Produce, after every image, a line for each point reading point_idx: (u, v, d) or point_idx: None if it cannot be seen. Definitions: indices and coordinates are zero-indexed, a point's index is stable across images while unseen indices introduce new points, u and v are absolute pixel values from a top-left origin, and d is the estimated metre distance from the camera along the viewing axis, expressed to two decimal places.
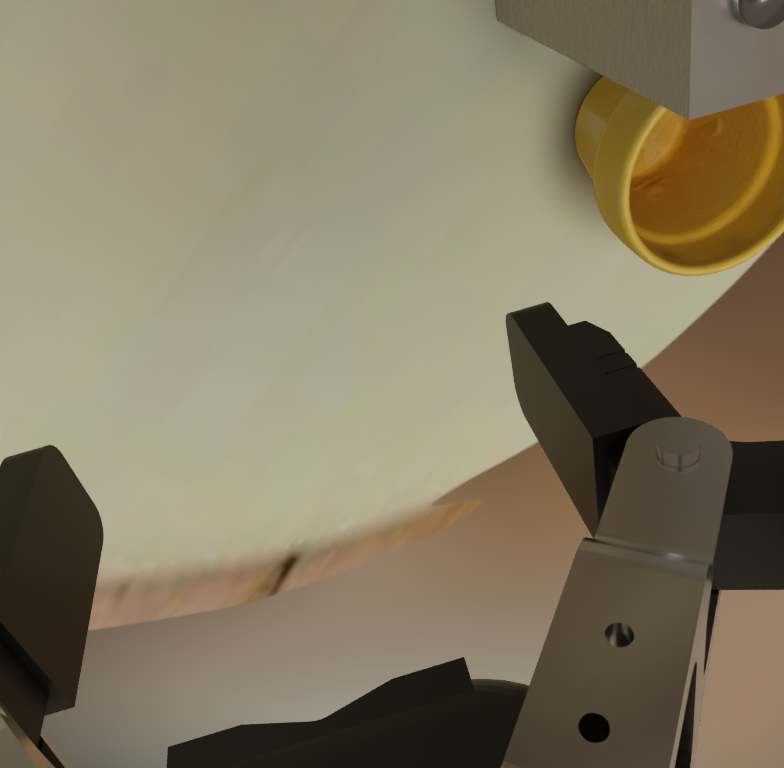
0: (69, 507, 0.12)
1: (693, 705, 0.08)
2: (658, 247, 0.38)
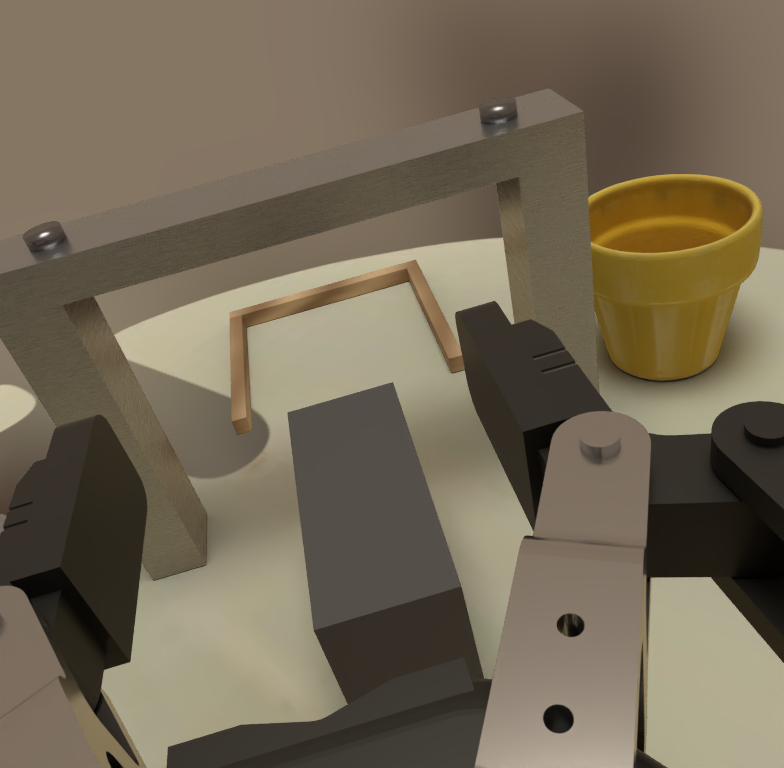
0: (117, 475, 0.13)
1: (642, 685, 0.08)
2: None
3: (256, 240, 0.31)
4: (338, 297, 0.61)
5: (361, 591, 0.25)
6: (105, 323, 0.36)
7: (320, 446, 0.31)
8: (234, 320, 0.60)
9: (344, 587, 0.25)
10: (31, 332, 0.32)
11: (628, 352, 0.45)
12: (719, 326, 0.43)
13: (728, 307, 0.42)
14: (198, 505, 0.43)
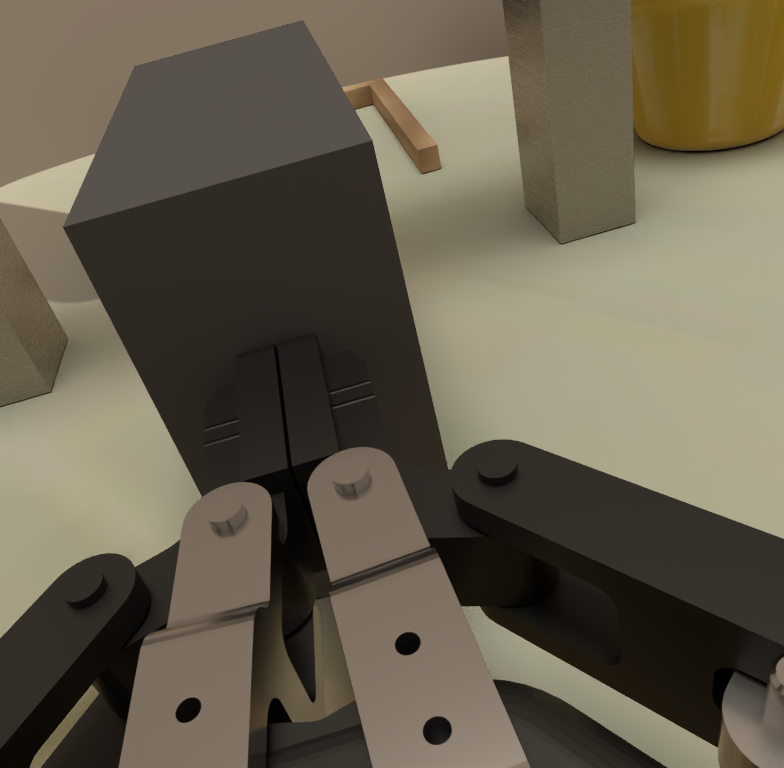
0: None
1: None
2: None
3: None
4: None
5: (175, 175, 0.12)
6: None
7: (170, 78, 0.19)
8: None
9: (145, 177, 0.13)
10: None
11: (668, 106, 0.31)
12: None
13: None
14: (49, 317, 0.30)
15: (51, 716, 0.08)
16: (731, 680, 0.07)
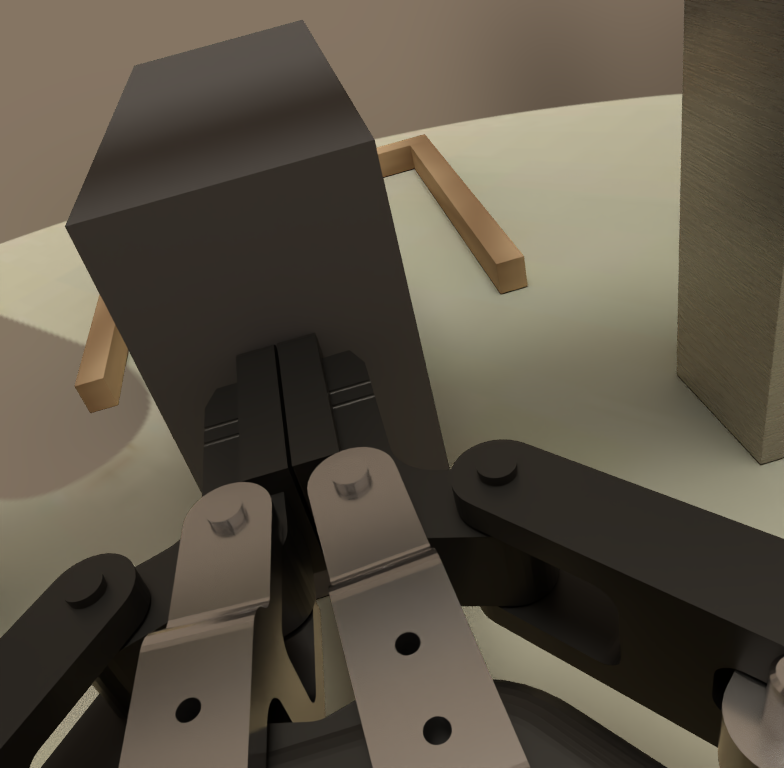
0: None
1: None
2: None
3: None
4: None
5: (177, 175, 0.12)
6: None
7: (169, 77, 0.19)
8: None
9: (146, 177, 0.13)
10: None
11: None
12: None
13: None
14: None
15: (51, 716, 0.08)
16: (731, 681, 0.07)
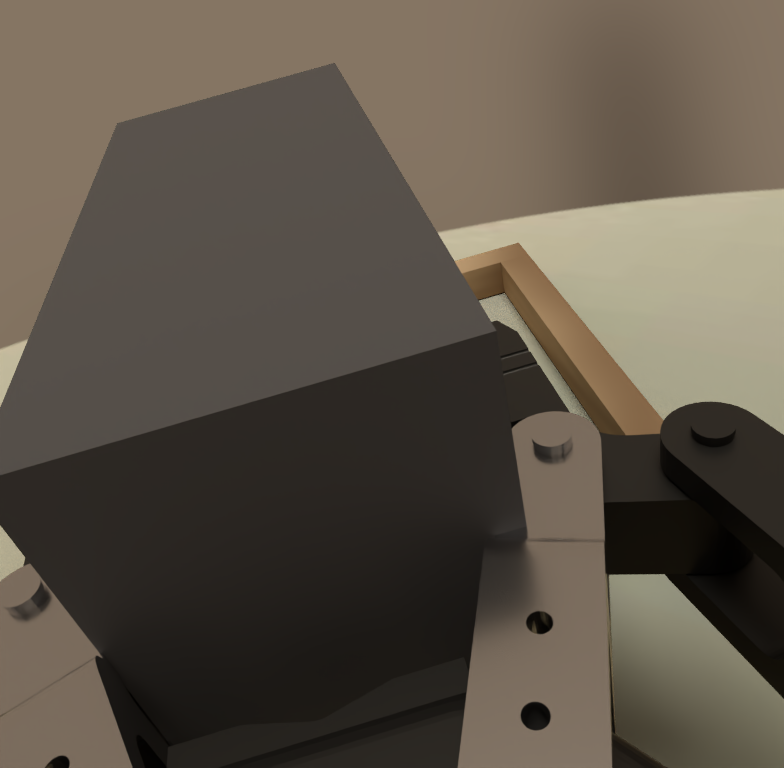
0: None
1: (610, 677, 0.08)
2: None
3: None
4: None
5: (162, 372, 0.08)
6: None
7: (162, 149, 0.14)
8: None
9: (114, 367, 0.08)
10: None
11: None
12: None
13: None
14: None
15: None
16: None
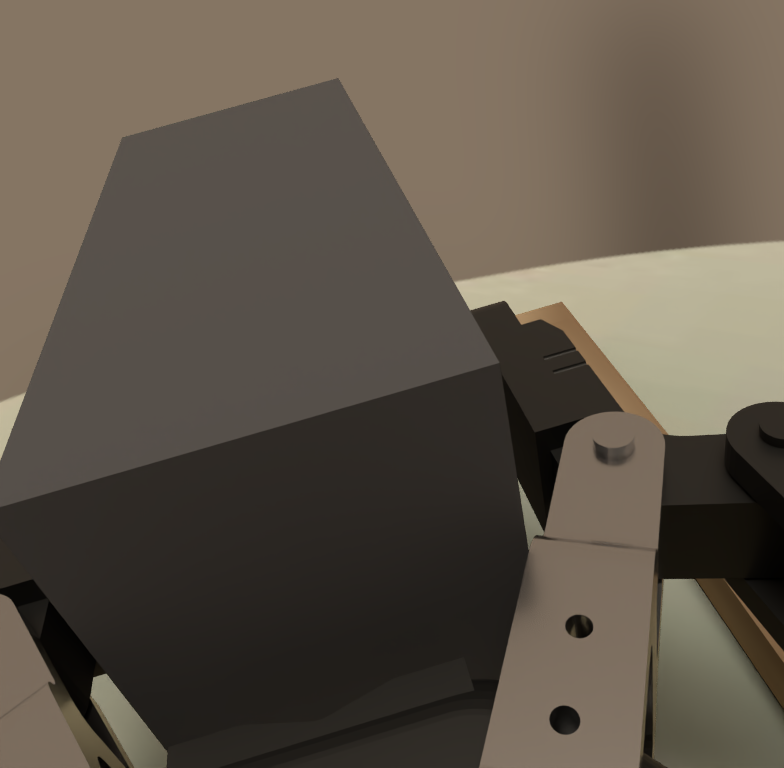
0: None
1: (651, 689, 0.08)
2: None
3: None
4: None
5: (172, 399, 0.08)
6: None
7: (166, 165, 0.14)
8: None
9: (123, 394, 0.08)
10: None
11: None
12: None
13: None
14: None
15: None
16: None
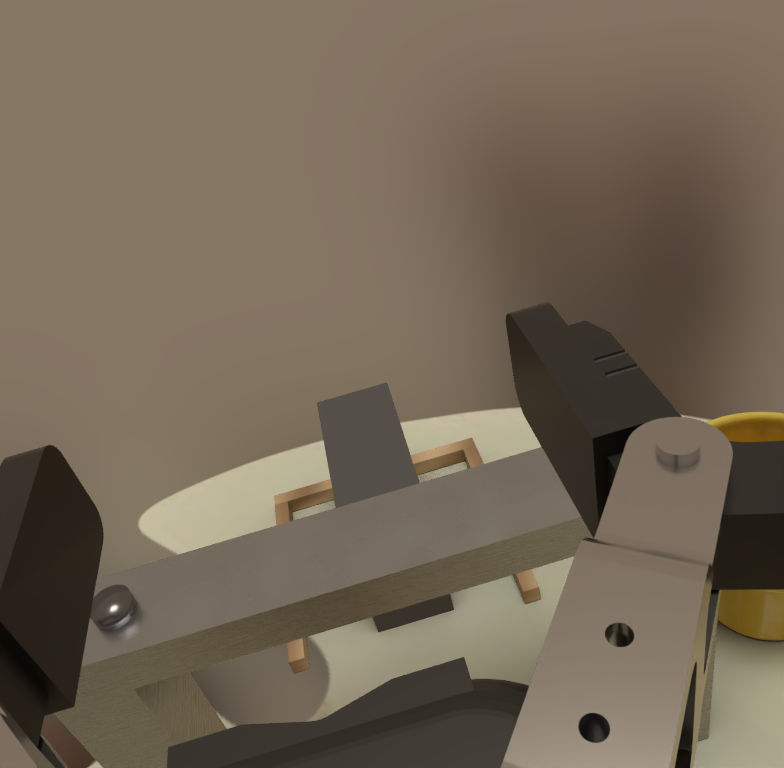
0: (69, 507, 0.12)
1: (693, 705, 0.08)
2: None
3: (354, 614, 0.27)
4: None
5: None
6: None
7: (339, 423, 0.49)
8: (280, 508, 0.56)
9: None
10: (96, 714, 0.28)
11: (728, 612, 0.41)
12: None
13: None
14: None
15: None
16: None
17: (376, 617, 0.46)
